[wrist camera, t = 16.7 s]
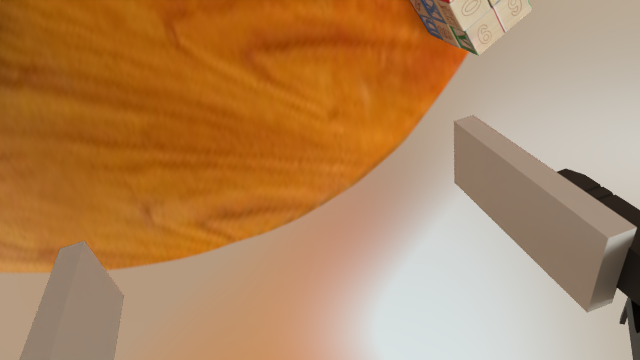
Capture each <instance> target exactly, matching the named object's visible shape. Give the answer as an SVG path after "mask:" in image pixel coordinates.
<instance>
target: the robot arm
mask: <svg viewBox="0 0 640 360" xmlns="http://www.w3.org/2000/svg"><path fill="white" fill-rule="evenodd" d="M454 164H455V165H454V166H455V168H454V170H455V173H454V174H455V183H456V184H457V185H458V186H459V187H460V188H461V189H462V190H463V191H464V192H465V193H466V194H467V195H468V196H469V197H470V198H471V199H472V200H473V201H474V202H475V203H476V204H477V205H478V206H479V207H480V208H481V209H482V210H483V211H484V212H485V213H486V214H487V215H488V216H489V217H490V218H491V219H492V220H493V221H495V223H497V224H498V225H499V226H500V227H501V228H502V229H503V230H504V231H505V232H506V233H507V234H508V235H509V236H510V237H511V238H512V239H513V240H514V241H515V242H516V243H517V244H518V245H519V246H520V247H521V248H522V249H523V250H524V251H525V252H526V253H527V254H528V255H529V256H530V257H531V258H532V259H533V260H534V261H535V262H536V263H537V264H538V265H539V266H540V267H541V268H543V270H544V271H545V272H546V273H548V275H549V276H550V277H552V278H553V279H554V280H555V281H556V282H557V283H558V284H559V285H560V286H561V287H562V288H563V289H564V290H565V291H566V292H567V293H568V294H569V295H570V296H571V297H572V298H573V299H574V300H575V301H576V302H577V303H578V304H579V305H580V306H581V307H582V308H583V309H584V310H585V311H586V312H590V311H592V310H594V309H597V308H600V307H602V306H605V305H607V304H610V303H612V301H613V298H614V295H615V292H616V289H617V288H618V289H619V290H621V291H622V292H623V293H624V294H626V295H627V296H628V298H627V301H626V304H625V307H624V309H623V312H622V315H621V318H620V324H625V322H626V319H627V317H628V325H629V332H630V340H631V347H632V355H633V360H640V210H639V209H637V208H635V207H634V206H632V205H631V204H629V203H628V202H626V201H625V200H623V199H622V198H620V197H618V196H617V195H613V193H612V192H611V191H609V190H608V189H606V188H604V187H601V186H600V184H598V183H597V182H595V181H594V180H592V179H590V178H589V177H587V176H586V175H584V174H581V173H578V172H574V171H572V170H568V169H564V170H561V171H558V172H556V171H554V170H553V169H551V168H550V167H548V166H547V165H545V164H544V163H542V162H541V161H540V160H538V159H537V158H535V157H534V156H532V155H531V154H529V153H528V152H526V151H525V150H523V149H522V148H521V147H519V146H518V145H516V144H515V143H513V142H512V141H510V140H509V139H507V138H506V137H505V136H503V135H502V134H500V133H498V132H497V131H496V130H494V129H493V128H491V127H490V126H489V125H487V124H486V123H484V122H483V121H481V120H480V119H478V118H477V117H475V116H474V115H472V116H469V117H466V118H463V119H460V120H457V121H454ZM123 298H124V295H123V294H122V292H121V291H120V290H119V288H118V287H117V285H116V284H115V283H114V281H113V280H112V278H111V277H110V276H109V274H108V273H107V271H106V270H105V269H104V267H103V266H102V265H101V263H100V262H99V260H98V259H97V258H96V256H95V255H94V253H93V252H92V251H91V249H90V248H89V247H88V245H87V244H86V242H85V241H82V242H79V243H76V244H73V245H70V246H67V247H64V248H61V249H60V251H59V253H58V256H57V259H56V261H55V264H54V267H53V270H52V272H51V275H50V278H49V281H48V283H47V286H46V289H45V292H44V295H43V297H42V300H41V303H40V305H39V308H38V311H37V313H36V316H35V319H34V322H33V324H32V327H31V330H30V332H29V335H28V338H27V341H26V343H25V346H24V349H23V352H22V354H21V357H20V360H114V356H115V350H116V344H117V337H118V330H119V324H120V318H121V311H122V305H123Z"/></svg>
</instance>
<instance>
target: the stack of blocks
mask: <svg viewBox="0 0 640 360" xmlns="http://www.w3.org/2000/svg"><path fill="white" fill-rule="evenodd" d="M410 2H411V3H412V5H413V7H414V8H415V10H416V12H417V13H418V14H419V16H420V18H421V20H422V22H423V23H424V25H425V27H426V28H427V30H428V32H429V33H430V34H431V35H433V36H435V37H437V38H439V39H441V40H443V41H445V42H447V43H449V44H451V45H453V46H455V47H458V48H463V49H465V50H467V51H469V52H471V53H474V54H476V55H480V54H481V53H482V52H483V51H485V50H486V49H487V48H488V47H489V46H491V45H492V44H493V43H494V42H495V41H496V40H498V39H499V38H500V37H501V36H503V34H504V33H505V32H506V31H507V30H509V29H510V28H511V27H512V26H514V25H515V24H516V23H517V22H518V21H519V20H521V19H522V18H523V17H524V16H525V15H527V14H528V13H529V12H530V11H531V10H532V8H531V6H530V3H529V1H528V0H410Z"/></svg>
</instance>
